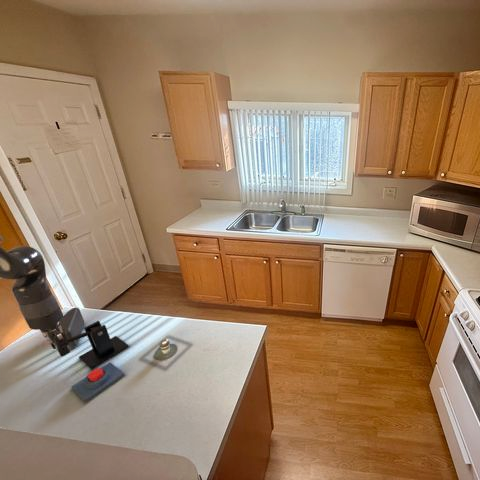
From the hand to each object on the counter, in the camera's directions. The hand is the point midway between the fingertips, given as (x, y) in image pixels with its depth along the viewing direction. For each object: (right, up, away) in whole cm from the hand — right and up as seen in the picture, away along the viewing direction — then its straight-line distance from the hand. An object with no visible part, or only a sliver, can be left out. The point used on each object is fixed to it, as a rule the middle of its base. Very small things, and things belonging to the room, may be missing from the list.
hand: (61, 350), depth 84 cm
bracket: (+4, -6, +12) cm, 14 cm away
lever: (+2, +2, +4) cm, 5 cm away
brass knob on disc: (+27, -7, +14) cm, 31 cm away
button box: (+11, -11, +1) cm, 16 cm away
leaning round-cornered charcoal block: (-12, -3, +19) cm, 23 cm away
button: (+11, -9, 0) cm, 14 cm away
